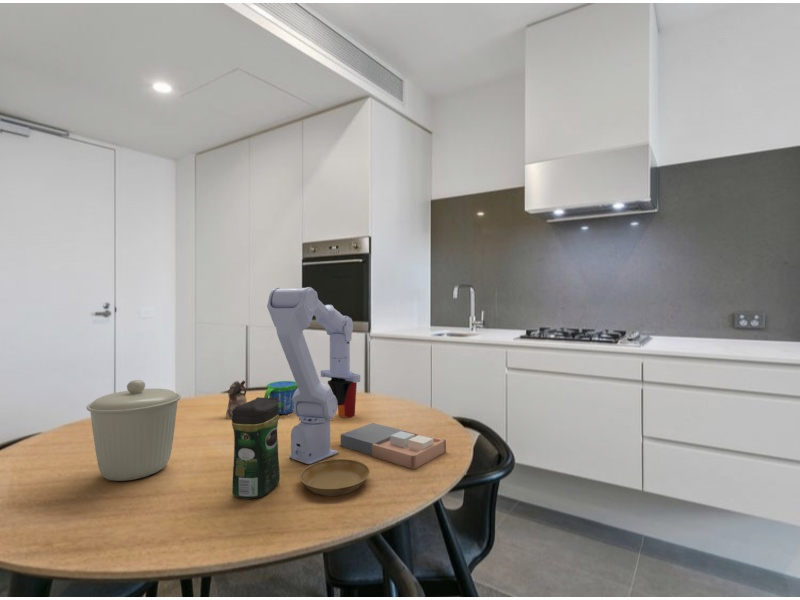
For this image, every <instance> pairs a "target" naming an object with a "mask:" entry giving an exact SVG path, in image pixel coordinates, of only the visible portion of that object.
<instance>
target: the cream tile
mask: <svg viewBox="0 0 800 600" xmlns="http://www.w3.org/2000/svg"><path fill="white" fill-rule="evenodd" d="M431 445H433V438H429V437H425V436H421V435H418V436H416V437H413V438H411V439H409V440H408V449H412V450H415V451H421V450H423V449H425V448H427V447H429V446H431Z"/></svg>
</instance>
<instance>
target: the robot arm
mask: <svg viewBox="0 0 800 600" xmlns="http://www.w3.org/2000/svg"><path fill="white" fill-rule="evenodd" d="M266 307H267V310H268V313H269V316H270V318H271V320H272V323H273V325H274V327H275V329H276V335H277V337H278V341H279V343H280V345H281V348H282V351H283V353H284V355H285V358H286V361H287V363H288V365H289V369H290V371H291V373H292V376H293V379H294V382H296V384H297V387H298V388H297V390H296V391H295V393H294V395H293V397H292V400H293V402H294V410H293V412H294V414H295V415H296V417H297V418H298V421H299V423H298V424H297V425H294V426H293V428H292V429H291V432H290V454H289V455H288V457H289V458H290V459H293V460H295V461H298V462H301V463H303V464H305V465H313V464H315V463H318V462H321V461H323V460H325V459H327V458H330V457H331V456H334V455H336V454H338V450H336V449H332V448H331V420H332V419H333V418H334V417H335V416H336V414H337V413H338V405H343V404H344V402H345V398H346V394H347V391H348V389H349V387H350V385H351V383H352V382H354V383H356V382H357V383H360V382H361V374H359V373H358V374H357V373H354V372H352V370H350V367H351V359H350V358H351V354H350V353H351V349H350V346H351V345H350V343H351V341H352V336H353V330H354V323H353V319H352V317H350V316H348V315H343V314H341V312H340V311H338V310H337V309H336V308H334V305H332V304H324V303H323V302H322V301H321V300H319V297H318V292H317V291H316V290H315V289H314V288H312V287H311V286H307V287H290V288H289V287H286V288H285V287H284V288H283V287H282V288H281V287H274V288H273V289H272V290H271V292H270V293H269V296H268V302H267V305H266ZM313 317H315V320H316V322H317V324H318V325H320V326H322V327H323V328H324V329H325V332H326V334H327V335H328V336H329V369H322V370H320V378H329V379H330V380H327V385H328V386H329V387H328V386H327V385H326V384H324V383H322V382H321V381H320V378H319V375H318V373H317V372H318V371H317V369H316V366H315V365H314V361H313V358H312V355H311V353H310V349H309V347H308V343H307V341H306V338H305V335H304V330H307V329H308V328H310V326H311V323H312V319H313Z"/></svg>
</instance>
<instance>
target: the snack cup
mask: <svg viewBox="0 0 800 600" xmlns="http://www.w3.org/2000/svg"><path fill="white" fill-rule="evenodd" d="M297 388H298V387H297V384H296V382H295V380H294V381H292V380H280V381H278V380H277V381H273V382H269V383H267V385H266V390H265V392H264V397H263V398H273V399H274V400H275V401H276V402H277V404H278V412H279V413H278V414H283V415H287V414H290V413H293V412H294V402H293V400H292V397H293V395H294V393H295V391H296V390H297Z"/></svg>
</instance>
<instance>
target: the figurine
mask: <svg viewBox="0 0 800 600" xmlns="http://www.w3.org/2000/svg"><path fill="white" fill-rule="evenodd" d="M245 384H246V380H242V381H241V382H239V380H235V381H234V382H232V383H231V384H230V386H229V389H228V391H227V392H226V393H228V404H227V409H226V413H225V417H226V418H227V417H229V418H228V419H230V418H232V410H233V409H234V408H236V407H237V406H239V405H242V404H245V403H247V402H248V401H247V397H246V394H247V388H246V387H245ZM242 390H243V391H244V392H242Z"/></svg>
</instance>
